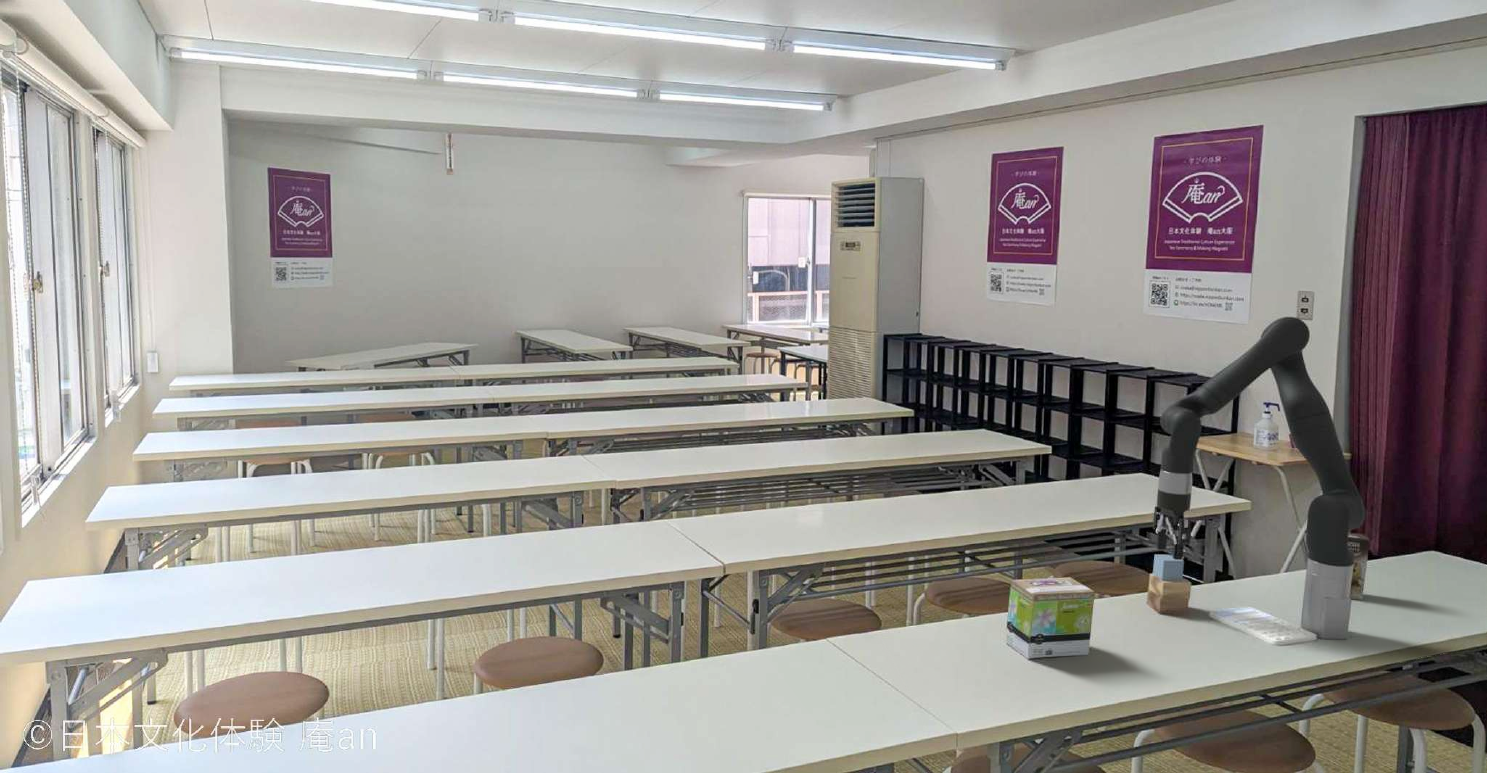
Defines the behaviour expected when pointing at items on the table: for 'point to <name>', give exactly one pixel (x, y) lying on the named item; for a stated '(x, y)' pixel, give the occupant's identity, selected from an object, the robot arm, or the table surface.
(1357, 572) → the coffee box
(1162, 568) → the blue cube
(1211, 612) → the calculator
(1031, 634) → the tea box
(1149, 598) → the base block
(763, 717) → the table surface
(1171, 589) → the top block
